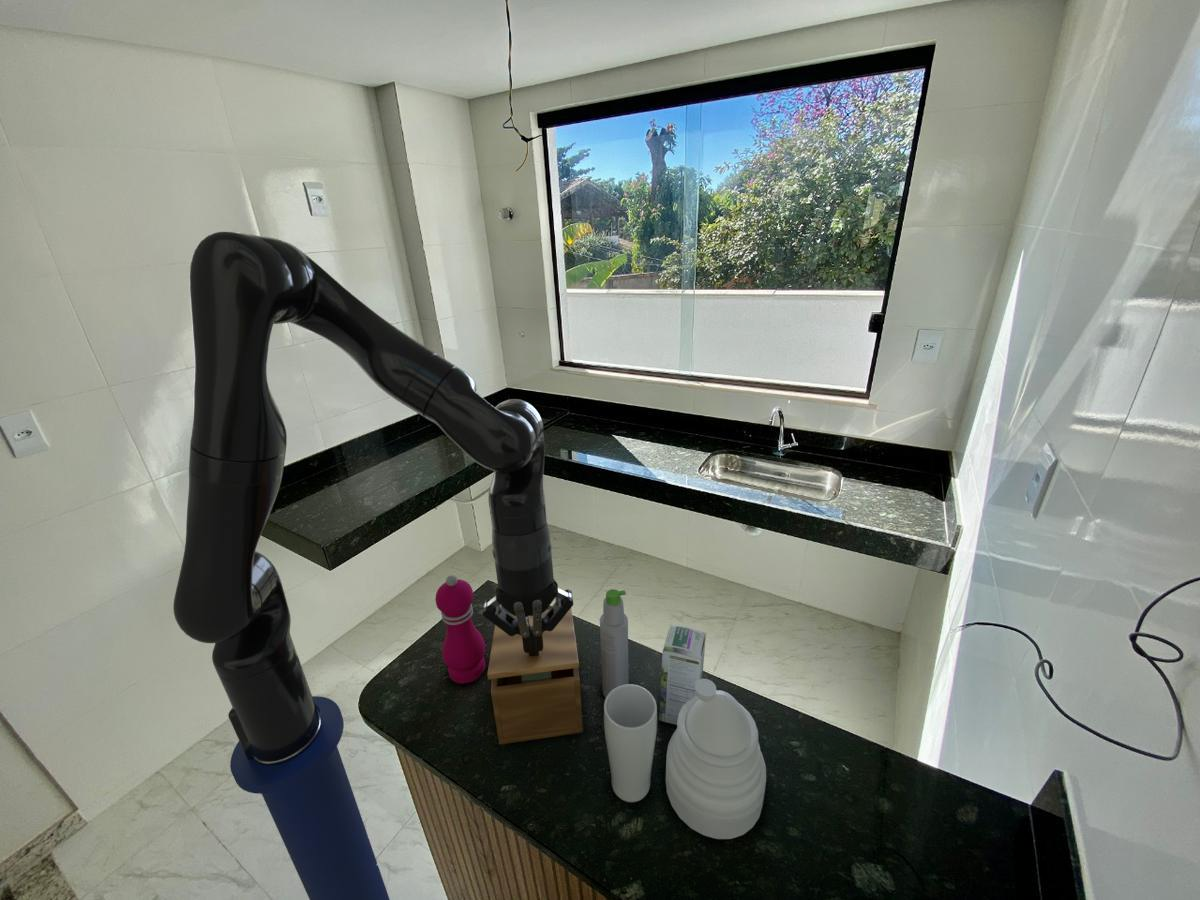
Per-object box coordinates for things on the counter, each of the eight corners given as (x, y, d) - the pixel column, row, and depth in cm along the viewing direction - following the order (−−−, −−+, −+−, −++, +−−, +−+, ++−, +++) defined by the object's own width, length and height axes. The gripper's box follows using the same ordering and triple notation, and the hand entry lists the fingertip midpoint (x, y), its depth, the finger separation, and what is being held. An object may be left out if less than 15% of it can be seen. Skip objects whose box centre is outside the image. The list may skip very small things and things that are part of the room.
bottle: (627, 703, 78) (626, 603, 71) (601, 701, 79) (596, 602, 71) (629, 681, 82) (628, 584, 75) (603, 679, 83) (600, 583, 75)
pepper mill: (437, 681, 83) (417, 586, 76) (460, 650, 90) (444, 559, 82) (474, 690, 81) (458, 594, 74) (495, 658, 88) (482, 566, 80)
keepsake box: (582, 732, 74) (579, 680, 70) (499, 744, 72) (490, 691, 68) (574, 658, 87) (571, 610, 83) (503, 667, 86) (496, 619, 81)
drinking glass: (596, 791, 66) (592, 712, 60) (622, 751, 71) (621, 675, 65) (640, 821, 62) (640, 740, 56) (664, 776, 67) (666, 698, 61)
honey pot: (664, 831, 61) (667, 731, 54) (666, 737, 73) (669, 644, 66) (771, 846, 59) (788, 744, 52) (755, 747, 71) (767, 652, 64)
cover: (579, 667, 68) (578, 662, 68) (487, 679, 66) (487, 674, 66) (571, 611, 83) (571, 606, 83) (496, 619, 81) (496, 615, 81)
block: (526, 719, 75) (521, 680, 72) (526, 695, 79) (522, 658, 76) (554, 715, 76) (551, 677, 73) (553, 691, 80) (550, 654, 77)
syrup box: (665, 691, 80) (667, 622, 74) (701, 700, 78) (706, 630, 73) (658, 721, 75) (660, 649, 69) (697, 731, 73) (702, 658, 68)
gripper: (570, 531, 68) (576, 627, 75) (474, 541, 67) (489, 638, 73) (575, 562, 61) (581, 665, 68) (468, 574, 60) (485, 678, 66)
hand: (533, 651), depth 71 cm, fingers closed
